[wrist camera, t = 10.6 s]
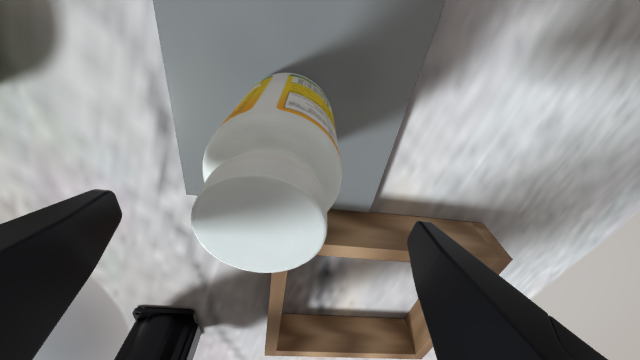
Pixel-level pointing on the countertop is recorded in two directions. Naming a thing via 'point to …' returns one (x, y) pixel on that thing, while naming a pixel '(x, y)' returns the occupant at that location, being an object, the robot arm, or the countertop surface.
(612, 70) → the countertop surface
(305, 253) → the supplement bottle
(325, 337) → the wooden square frame
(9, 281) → the robot arm
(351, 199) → the slate tile
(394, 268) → the countertop surface
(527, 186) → the countertop surface
